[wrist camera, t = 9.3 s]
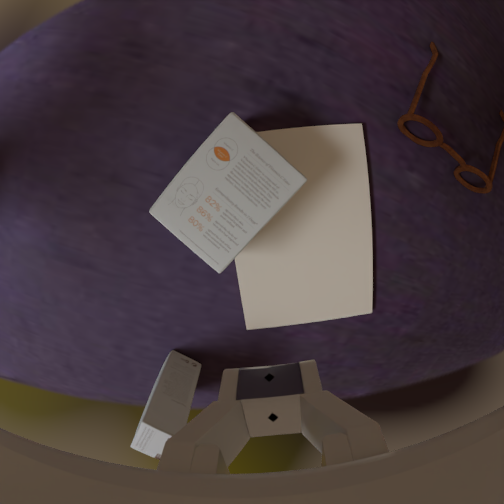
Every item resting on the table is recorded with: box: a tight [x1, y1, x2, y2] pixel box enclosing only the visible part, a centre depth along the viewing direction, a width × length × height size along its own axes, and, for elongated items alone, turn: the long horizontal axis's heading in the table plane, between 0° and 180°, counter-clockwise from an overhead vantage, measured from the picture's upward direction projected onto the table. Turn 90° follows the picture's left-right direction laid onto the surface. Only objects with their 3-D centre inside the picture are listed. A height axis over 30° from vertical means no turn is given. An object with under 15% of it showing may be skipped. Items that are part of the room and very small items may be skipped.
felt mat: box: [235, 123, 373, 330], centre depth 29 cm, size 14×20×1 cm
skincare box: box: [131, 350, 201, 460], centre depth 29 cm, size 6×4×12 cm
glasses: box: [398, 42, 504, 193], centre depth 23 cm, size 13×13×5 cm
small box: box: [149, 112, 307, 273], centre depth 25 cm, size 8×6×10 cm
